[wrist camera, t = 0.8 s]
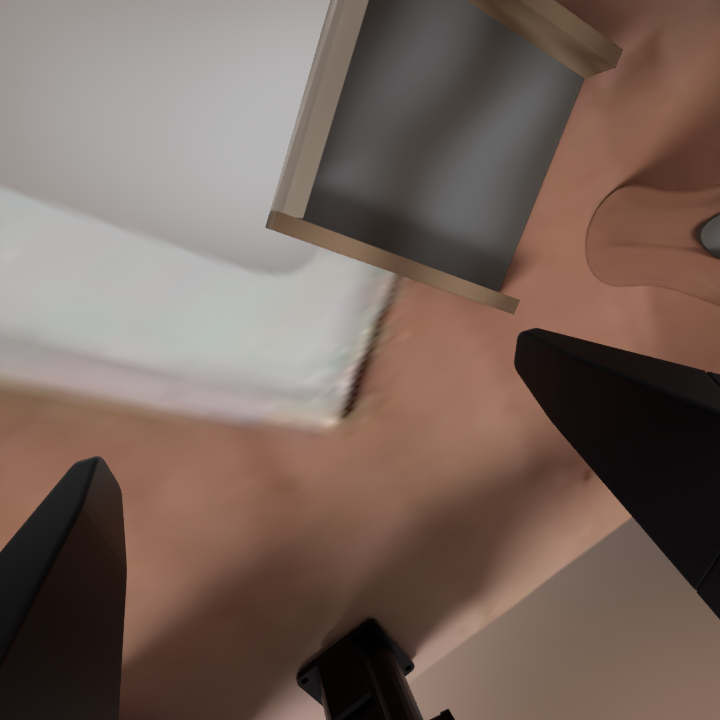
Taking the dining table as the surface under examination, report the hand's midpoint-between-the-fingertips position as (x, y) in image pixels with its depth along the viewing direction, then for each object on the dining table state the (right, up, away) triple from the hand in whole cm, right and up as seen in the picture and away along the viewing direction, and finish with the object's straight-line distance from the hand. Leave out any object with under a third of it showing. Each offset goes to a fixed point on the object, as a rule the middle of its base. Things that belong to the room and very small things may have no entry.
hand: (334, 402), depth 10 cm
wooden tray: (+4, +12, +13) cm, 18 cm away
